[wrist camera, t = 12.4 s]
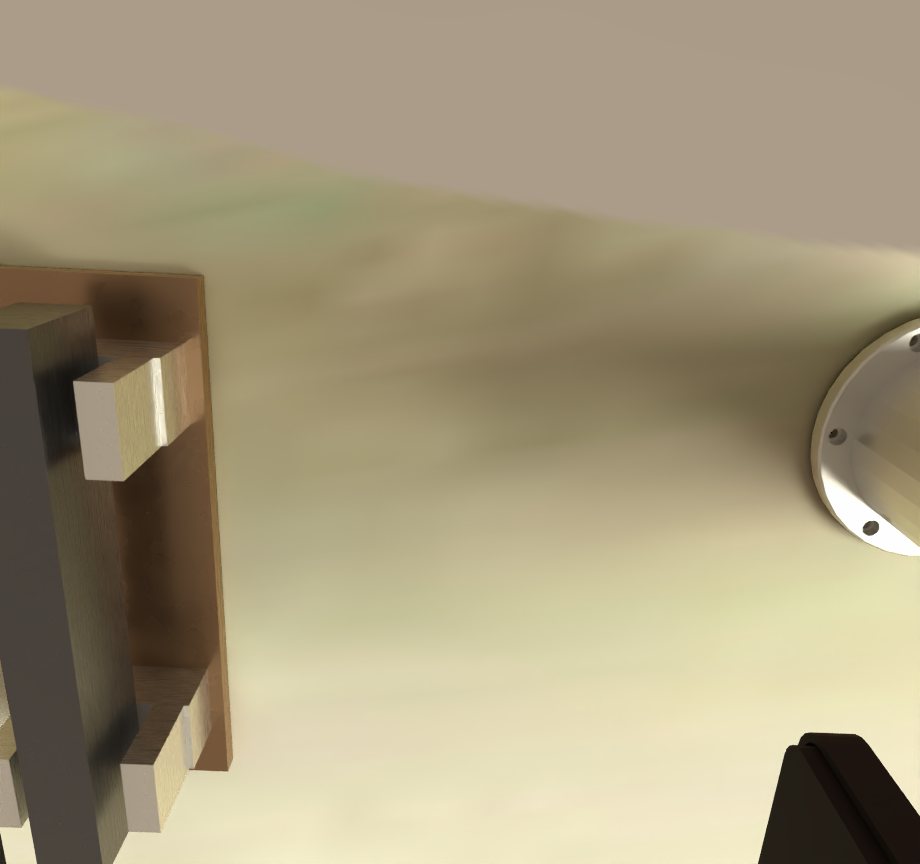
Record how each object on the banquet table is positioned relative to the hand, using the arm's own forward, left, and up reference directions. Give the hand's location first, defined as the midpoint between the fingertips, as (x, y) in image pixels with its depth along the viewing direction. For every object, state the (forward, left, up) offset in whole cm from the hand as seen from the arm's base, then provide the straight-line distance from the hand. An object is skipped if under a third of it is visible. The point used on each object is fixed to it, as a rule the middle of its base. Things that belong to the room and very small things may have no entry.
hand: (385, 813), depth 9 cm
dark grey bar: (+16, +12, -24) cm, 31 cm away
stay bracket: (+16, +12, -28) cm, 35 cm away
